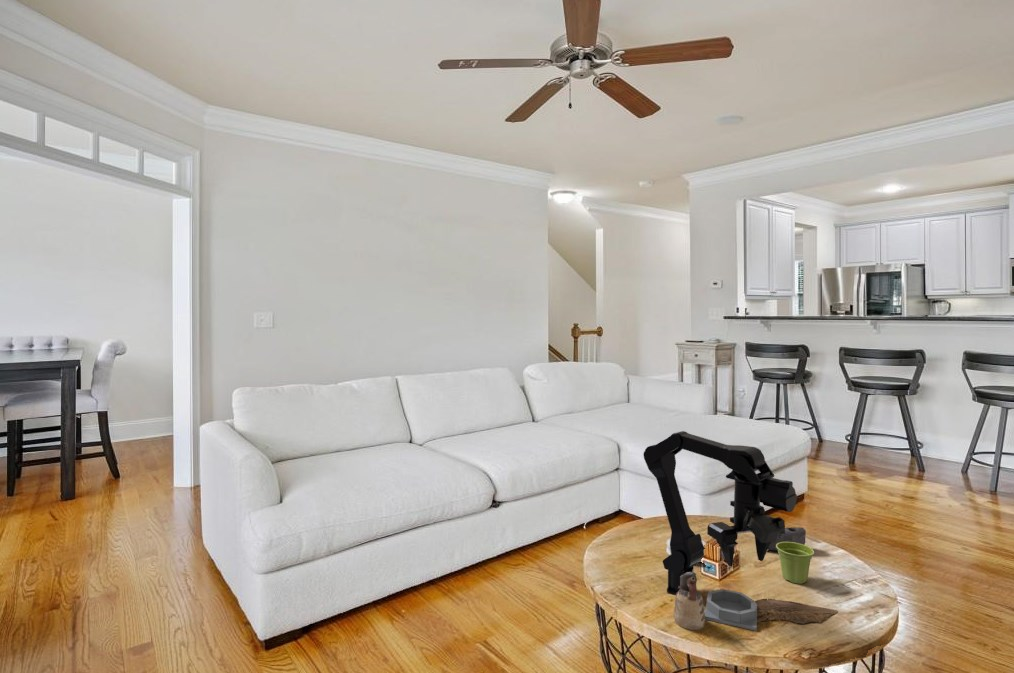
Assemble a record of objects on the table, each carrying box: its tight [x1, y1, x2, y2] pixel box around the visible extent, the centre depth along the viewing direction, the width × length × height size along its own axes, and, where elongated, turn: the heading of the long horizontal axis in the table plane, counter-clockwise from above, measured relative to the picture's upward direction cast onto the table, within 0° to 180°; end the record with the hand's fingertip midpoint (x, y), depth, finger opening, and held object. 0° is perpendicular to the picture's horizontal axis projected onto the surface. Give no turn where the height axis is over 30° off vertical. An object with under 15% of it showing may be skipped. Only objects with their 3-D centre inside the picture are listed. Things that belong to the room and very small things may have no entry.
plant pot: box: [776, 542, 815, 585], centre depth 148 cm, size 9×9×9 cm
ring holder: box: [704, 588, 758, 632], centre depth 131 cm, size 12×12×3 cm
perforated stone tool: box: [767, 526, 807, 552], centre depth 167 cm, size 15×5×7 cm, turn 91°
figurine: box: [673, 572, 706, 631], centre depth 127 cm, size 7×7×12 cm
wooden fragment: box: [754, 598, 839, 625], centre depth 131 cm, size 26×11×1 cm, turn 85°
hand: (745, 563), depth 128 cm, fingers open, 9 cm apart
